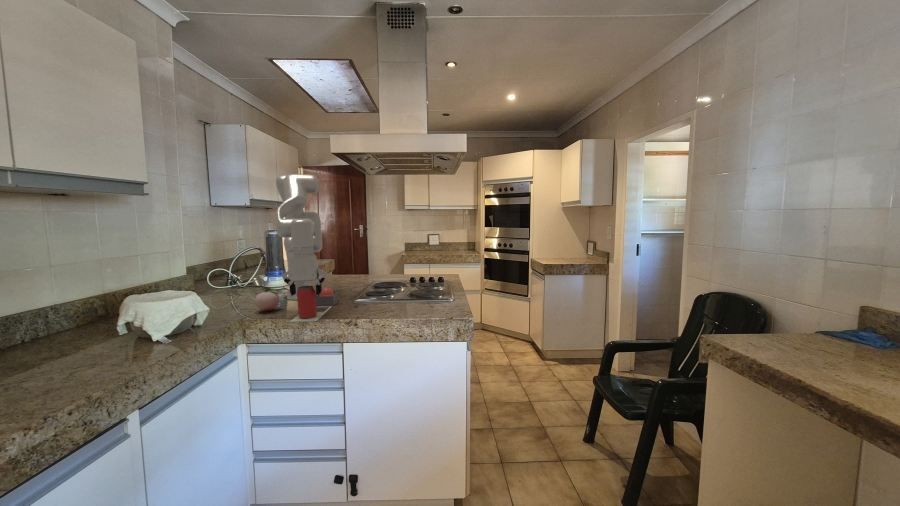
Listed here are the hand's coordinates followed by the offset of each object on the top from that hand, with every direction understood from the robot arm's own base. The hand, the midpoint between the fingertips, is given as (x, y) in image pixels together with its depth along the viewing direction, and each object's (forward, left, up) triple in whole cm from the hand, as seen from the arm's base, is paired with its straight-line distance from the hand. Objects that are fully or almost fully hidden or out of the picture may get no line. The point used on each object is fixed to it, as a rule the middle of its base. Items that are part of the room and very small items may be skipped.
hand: (306, 294), depth 132 cm
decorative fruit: (-21, +11, -10) cm, 26 cm away
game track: (0, +9, -9) cm, 13 cm away
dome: (+1, +20, -8) cm, 22 cm away
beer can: (0, 0, -9) cm, 9 cm away
